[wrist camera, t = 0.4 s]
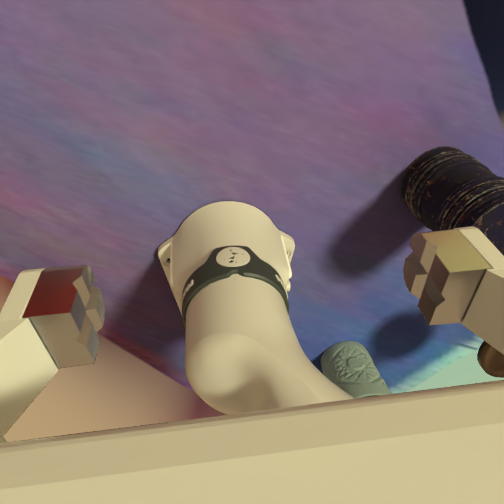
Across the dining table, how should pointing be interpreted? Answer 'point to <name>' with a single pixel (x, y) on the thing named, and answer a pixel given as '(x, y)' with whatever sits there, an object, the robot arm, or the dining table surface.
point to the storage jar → (455, 193)
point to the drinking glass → (353, 370)
